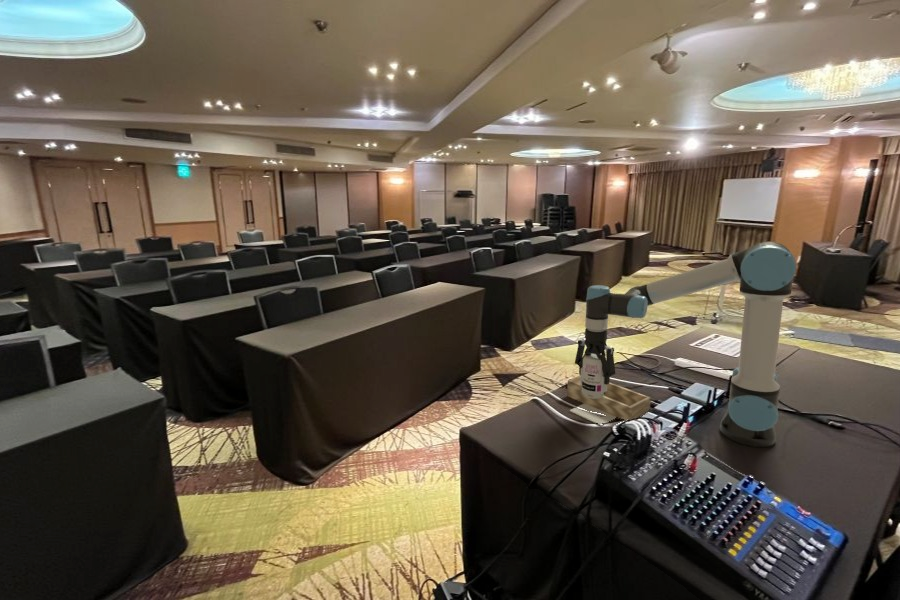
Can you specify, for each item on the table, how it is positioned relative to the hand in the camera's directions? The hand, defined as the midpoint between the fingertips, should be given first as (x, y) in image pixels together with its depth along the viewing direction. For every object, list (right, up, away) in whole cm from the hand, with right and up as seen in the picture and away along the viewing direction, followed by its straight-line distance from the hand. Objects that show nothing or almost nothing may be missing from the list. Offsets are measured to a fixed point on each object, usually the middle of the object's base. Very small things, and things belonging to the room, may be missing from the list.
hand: (593, 387), depth 152 cm
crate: (+9, -9, +10) cm, 16 cm away
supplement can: (0, -3, +1) cm, 3 cm away
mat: (+1, -11, +2) cm, 11 cm away
